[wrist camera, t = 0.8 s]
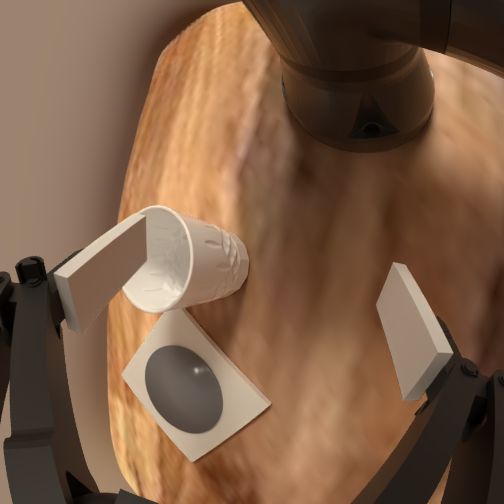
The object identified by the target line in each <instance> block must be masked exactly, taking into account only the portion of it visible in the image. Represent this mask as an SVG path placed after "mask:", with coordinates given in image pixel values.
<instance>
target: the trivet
mask: <svg viewBox="0 0 504 504" xmlns="http://www.w3.org/2000/svg"><path fill="white" fill-rule="evenodd" d="M121 375H122V377H123V378H124V380H125V381H126V383H127V384H128V385H129V387H130V388H131V390H132V391H133V392H134V394H135V395H136V396H137V398H138V399H139V401H140V402H141V403H142V404H143V406H144V407H145V408H146V410H147V411H148V412H149V414H150V415H151V416H152V417H153V419H154V420H155V421H156V422H157V424H158V425H159V426H160V427H161V428H162V430H163V431H164V432H165V433H166V434H167V435H168V437H169V438H170V439H171V440H172V441H173V442H174V444H175V445H176V446H177V447H178V448H179V449H180V450H181V451H182V452H183V453H184V455H185V456H186V457H187V458H188V459H189V460H190V461H191V462H194V461H195V460H197V459H198V458H200V457H201V456H203V455H204V454H206V453H207V452H209V451H210V450H212V449H213V448H215V447H216V446H217V445H219V444H220V443H222V442H223V441H224V440H226V439H227V438H229V437H230V436H231V435H233V434H234V433H235V432H237V431H238V430H239V429H241V428H242V427H243V426H245V425H246V424H247V423H248V422H250V421H251V420H252V419H254V418H255V417H256V416H257V415H259V414H260V413H261V412H262V411H264V410H265V409H266V408H267V407H269V406H270V405H271V404H272V402H271V401H270V400H269V399H268V398H267V397H266V396H265V395H264V394H263V393H262V392H261V391H260V390H259V389H258V388H257V387H256V386H255V385H254V384H253V383H252V382H251V381H250V380H249V379H248V378H247V377H246V376H245V375H244V374H243V373H242V372H241V371H240V370H239V368H238V367H237V366H236V365H235V364H234V363H233V362H232V361H231V360H230V359H229V358H228V357H227V356H226V354H225V353H224V352H223V351H222V350H221V349H220V348H219V347H218V346H217V344H216V343H215V342H214V341H213V340H212V339H211V338H210V337H209V335H208V334H207V333H206V332H205V331H204V330H203V329H202V327H201V326H200V325H199V324H198V323H197V322H196V320H195V319H194V318H193V317H192V316H191V315H190V313H189V312H188V311H187V310H186V309H185V308H181V309H177V310H172V311H167V312H164V313H163V314H162V316H161V317H160V318H159V320H158V321H157V323H156V324H155V326H154V327H153V329H152V330H151V331H150V333H149V334H148V336H147V337H146V339H145V340H144V342H143V343H142V345H141V346H140V348H139V349H138V351H137V352H136V354H135V355H134V356H133V358H132V359H131V361H130V362H129V364H128V365H127V367H126V368H125V370H124V371H123V373H122V374H121Z"/></svg>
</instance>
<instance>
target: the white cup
mask: <svg viewBox="0 0 504 504" xmlns="http://www.w3.org/2000/svg"><path fill="white" fill-rule="evenodd" d="M137 214H142V215H146V240H147V261H146V262H145V263H144V264H143V265H142V267H141V268H140V269H139V270H138V271H137V272H136V273H135V274H134V275H133V276H132V277H131V278H130V280H129V281H128V282H127V283H126V284H125V285H124V286H123V287H122V289H123V291H124V293H125V295H126V296H127V298H128V299H129V301H130V302H131V303H132V304H133V305H134V306H135V307H137V308H138V309H140V310H142V311H144V312H147V313H151V314H158V313H163V312H167V311H172V310H177V309H181V308H186V307H191V306H195V305H199V304H202V303H206V302H210V301H213V300H216V299H218V298H223V297H227V296H229V295H231V294H232V293H234V292H236V291H237V290H239V289H240V288H241V286H242V284H243V283H244V281H245V279H246V278H247V276H248V269H249V261H250V260H249V256H248V253H247V250H246V246H245V244H244V243H243V242H242V241H241V240H240V239H239V238H238V236H237V235H236V234H234V233H231V232H228V231H225V230H223V229H221V228H219V227H218V226H216V225H213V224H211V223H209V222H206V221H203V220H201V219H199V218H196V217H193V216H190V215H187V214H184V213H182V212H179V211H176V210H173V209H170V208H168V207H165V206H159V205H156V206H150V207H147V208H144V209H142V210H141V211H139V212H138V213H137Z"/></svg>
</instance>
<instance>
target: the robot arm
mask: <svg viewBox="0 0 504 504" xmlns="http://www.w3.org/2000/svg"><path fill="white" fill-rule="evenodd" d="M241 1H242V2H243V4H244V5H245V6H246V8H247V9H248V10H249V12H250V13H251V14H252V16H253V17H254V18H255V20H256V21H257V23H258V24H259V25H260V27H261V28H262V30H263V31H264V33H265V34H266V36H267V37H268V38H269V40H270V41H271V43H272V44H273V46H274V47H275V49H276V51H277V52H278V54H279V56H280V61H281V67H282V90H283V95H284V98H285V101H286V103H287V105H288V107H289V109H290V110H291V112H292V113H293V115H294V117H295V118H296V120H297V121H298V122H299V124H300V125H301V126H302V127H303V128H304V129H305V130H306V131H307V132H308V133H309V134H310V135H312V136H313V137H314V138H316V139H317V140H319V141H321V142H323V143H325V144H327V145H329V146H332V147H335V148H338V149H341V150H346V151H351V152H364V153H368V152H379V151H384V150H388V149H392V148H395V147H397V146H400V145H402V144H404V143H406V142H407V141H409V140H410V139H412V138H413V137H414V136H415V135H417V134H418V133H419V132H420V131H421V129H422V128H423V127H424V126H425V124H426V122H427V121H428V118H429V116H430V113H431V110H432V106H433V101H434V94H435V86H434V78H433V74H432V71H431V69H430V67H429V64H428V61H427V59H426V56H425V53H424V50H423V48H425V49H428V50H432V51H435V52H438V53H441V54H444V55H447V56H450V57H453V58H456V59H458V60H461V61H464V62H467V63H469V64H472V65H474V66H477V67H479V68H481V69H484V70H486V71H488V72H491V73H493V74H495V75H497V76H499V77H501V78H503V79H504V0H241ZM146 261H147V240H146V215H142V214H136V213H134V214H132V215H131V216H129V217H128V218H126V219H125V220H123V221H122V222H121V223H119V224H118V225H116V226H115V227H114V228H112V229H111V230H109V231H108V232H107V233H105V234H104V235H102V236H101V237H100V238H98V239H97V240H96V241H94V242H93V243H92V244H90V245H89V246H88V247H86V248H84V249H81V250H79V251H76V252H74V253H73V254H72V255H70V256H69V257H68V259H65V260H64V261H62V263H60V264H59V265H57V266H56V267H55V268H54V269H52V270H51V271H50V272H49V273H47V274H46V270H45V266H44V261H43V259H42V258H41V257H37V256H32V257H27V258H25V259H22V260H21V261H20V262H18V263H17V265H16V266H15V268H16V272H17V275H18V279H19V282H20V283H12V281H11V278H10V275H9V273H7V272H0V422H1V415H2V411H3V406H4V401H5V397H6V392H7V388H8V384H9V380H10V418H11V437H9V438H6V439H5V441H4V457H5V465H6V471H7V477H8V483H9V488H10V493H11V497H12V502H13V504H158V503H156V502H153V501H151V500H148V499H145V498H142V497H140V496H137V495H134V494H132V493H129V492H127V491H124V490H122V489H120V491H119V494H115V493H100V492H99V489H98V487H97V485H96V483H95V481H94V479H93V477H92V475H91V474H90V472H89V469H88V467H87V464H86V461H85V458H84V454H83V451H82V447H81V443H80V439H79V436H78V431H77V428H76V423H75V418H74V413H73V408H72V403H71V398H70V392H69V386H68V379H67V373H66V364H65V355H64V345H63V333H62V327H61V324H60V323H61V322H62V321H63V320H64V319H66V322H67V325H68V329H70V330H73V331H75V332H78V333H80V334H82V333H83V332H84V331H85V330H86V329H87V327H88V326H89V325H90V324H91V323H92V322H93V320H94V319H95V318H96V317H97V315H98V314H99V313H100V312H101V311H102V310H103V309H104V307H105V306H106V305H107V304H108V303H109V302H110V301H111V300H112V298H113V297H114V296H115V295H116V294H117V293H118V292H119V291H120V289H121V288H122V287H123V286H124V285H125V284H126V283H127V282H128V281H129V280H130V278H131V277H132V276H133V275H134V274H135V273H136V272H137V271H138V270H139V269H140V268H141V267H142V265H143V264H144V263H145V262H146ZM376 307H377V310H378V313H379V316H380V320H381V323H382V326H383V329H384V332H385V336H386V339H387V342H388V346H389V349H390V353H391V356H392V360H393V363H394V367H395V371H396V375H397V378H398V382H399V386H400V390H401V395H402V399H403V401H418V400H419V399H420V398H421V396H422V395H423V394H424V393H425V391H426V394H427V397H428V399H427V400H426V401H425V402H424V404H423V405H422V406H421V407H420V408H419V409H418V411H417V412H416V413H415V414H414V415H417V416H416V417H415V419H414V420H413V422H412V424H411V425H410V427H409V428H408V430H407V432H406V433H405V435H404V436H403V438H402V439H401V441H400V442H399V444H398V445H397V446H396V448H395V449H394V451H393V452H392V453H391V455H390V456H389V458H388V459H387V460H386V462H385V463H384V464H383V466H382V467H381V468H380V470H379V471H378V472H377V473H376V475H375V476H374V477H373V478H372V480H371V481H370V482H369V483H368V484H367V486H366V487H365V488H364V489H363V490H362V491H361V493H360V494H359V495H358V496H357V497H356V498H355V499H354V500H353V502H352V503H351V504H427V503H428V501H429V499H430V498H431V496H432V494H433V492H434V491H435V489H436V487H437V485H438V483H439V482H440V480H441V478H442V476H443V474H444V472H445V470H446V468H447V466H448V464H449V462H450V459H451V457H452V455H453V457H452V462H451V466H450V471H449V475H448V479H447V483H446V487H445V491H444V494H443V498H442V501H441V504H504V371H502V370H496V371H495V373H494V374H493V375H492V376H491V378H489V377H486V376H482V375H480V371H479V369H478V367H477V366H476V365H475V364H474V363H473V362H472V361H470V360H468V359H465V358H462V356H461V354H460V352H459V350H458V348H457V346H456V344H455V342H454V340H453V339H452V336H451V334H450V333H449V330H448V328H447V327H446V325H445V323H444V322H443V321H442V320H441V319H440V318H439V317H438V316H435V315H434V313H433V312H432V310H431V308H430V306H429V304H428V302H427V301H426V299H425V297H424V295H423V294H422V292H421V290H420V288H419V287H418V285H417V283H416V281H415V280H414V278H413V276H412V275H411V273H410V271H409V270H408V268H407V267H406V265H405V264H400V263H395V262H393V263H392V266H391V269H390V271H389V274H388V276H387V279H386V281H385V284H384V286H383V289H382V291H381V294H380V296H379V299H378V301H377V303H376ZM485 421H486V422H485Z"/></svg>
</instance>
